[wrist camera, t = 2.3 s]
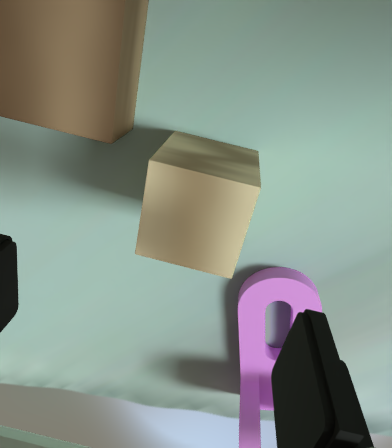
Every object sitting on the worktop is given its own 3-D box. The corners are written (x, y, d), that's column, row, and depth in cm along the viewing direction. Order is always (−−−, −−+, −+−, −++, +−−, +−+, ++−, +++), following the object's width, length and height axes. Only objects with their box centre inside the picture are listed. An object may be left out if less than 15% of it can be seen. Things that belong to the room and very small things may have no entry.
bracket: (309, 397, 29) (325, 491, 23) (242, 393, 30) (240, 482, 24) (321, 266, 23) (346, 344, 17) (237, 265, 24) (232, 340, 18)
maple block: (258, 151, 20) (260, 187, 15) (236, 224, 23) (231, 278, 17) (175, 130, 21) (149, 159, 15) (161, 205, 23) (134, 254, 18)
